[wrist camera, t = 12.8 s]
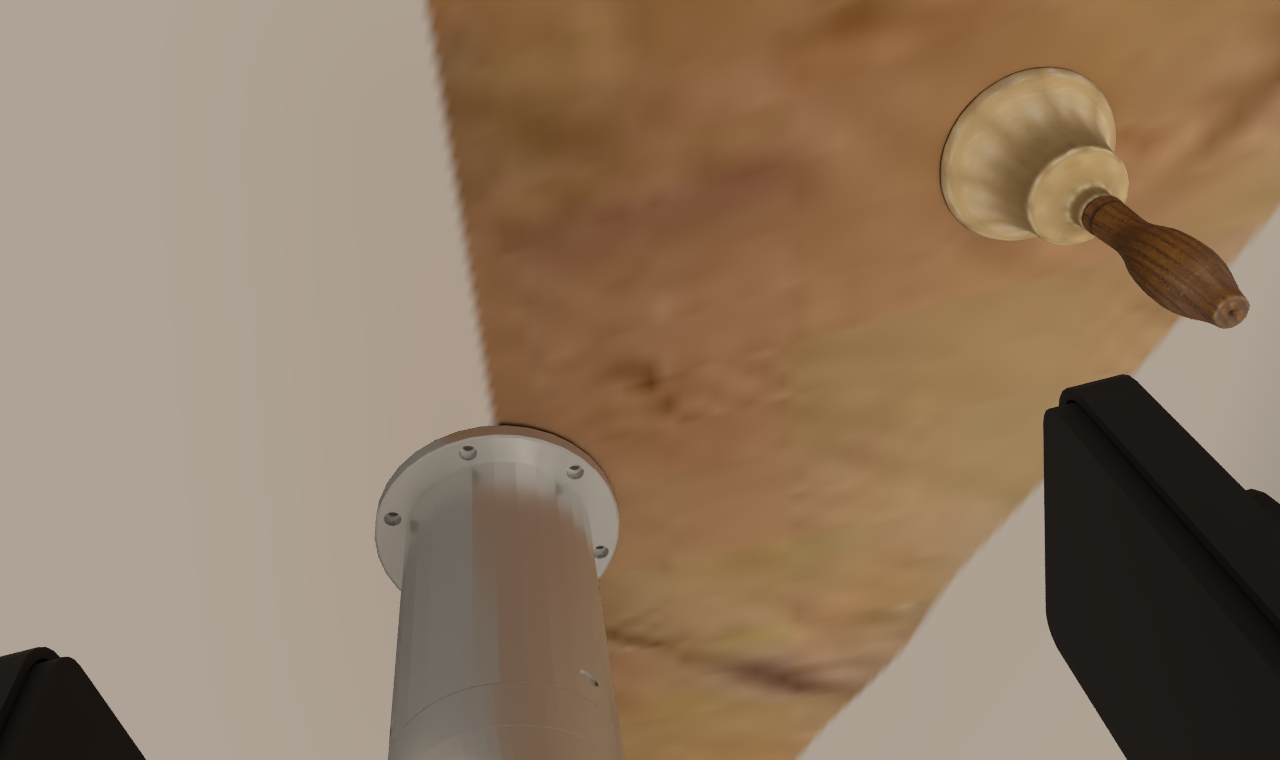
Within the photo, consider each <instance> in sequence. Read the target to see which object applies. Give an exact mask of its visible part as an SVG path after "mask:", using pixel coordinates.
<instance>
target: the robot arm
mask: <svg viewBox="0 0 1280 760" xmlns="http://www.w3.org/2000/svg"><path fill="white" fill-rule="evenodd" d="M1043 431H1044V506H1045V507H1044V508H1045V582H1046V583H1045V584H1046V616H1047V621H1048V625H1049V629H1050V632H1051V635H1052V637H1053V640H1054V642H1055V644H1056V646H1057V648H1058V650H1059V651H1060V653H1061V655H1062V656H1063V658H1064V659H1065V661H1066V663H1067V664H1068V666H1069V668H1070V669H1071V671H1072V672H1073V674H1074V675H1075V677H1076V679H1077V680H1078V682H1079V683H1080V685H1081V687H1082V688H1083V690H1084V691H1085V693H1086V695H1087V696H1088V698H1089V700H1090V701H1091V703H1092V704H1093V705H1094V707H1095V709H1096V711H1097V712H1098V714H1099V715H1100V717H1101V719H1102V720H1103V722H1104V723H1105V725H1106V727H1107V728H1108V730H1109V731H1110V733H1111V735H1112V736H1113V738H1114V739H1115V741H1116V743H1117V744H1118V746H1119V747H1120V749H1121V751H1122V752H1123V754H1124V755H1125V757H1126V758H1127V760H1280V504H1279V503H1278V502H1276V501H1275V500H1274V499H1272V498H1271V497H1270V496H1268V495H1267V494H1266V493H1264V492H1261V491H1257V490H1254V489H1249V490H1245V489H1244V488H1243V487H1242V486H1240V484H1239V483H1238V482H1236V480H1235V479H1234V478H1233V477H1232V476H1231V475H1230V474H1229V473H1228V472H1227V471H1226V470H1225V469H1224V468H1222V466H1221V465H1220V464H1219V463H1218V462H1217V461H1216V460H1215V459H1214V458H1213V457H1212V456H1211V455H1210V454H1209V453H1208V452H1207V451H1206V450H1205V449H1204V448H1203V447H1202V446H1201V445H1200V444H1199V443H1198V442H1197V441H1196V440H1195V439H1194V438H1193V437H1192V436H1191V435H1190V434H1189V433H1188V432H1187V431H1186V430H1185V429H1184V428H1183V427H1182V426H1181V425H1180V424H1179V423H1178V422H1177V421H1176V420H1175V419H1174V418H1173V417H1172V416H1171V415H1170V414H1169V413H1168V412H1167V411H1166V410H1165V409H1164V408H1163V407H1162V406H1161V405H1160V404H1159V403H1158V402H1157V401H1156V400H1155V399H1154V398H1153V397H1152V396H1151V395H1150V394H1149V393H1148V392H1147V391H1146V390H1145V389H1144V388H1143V387H1142V386H1141V385H1140V384H1139V383H1138V382H1137V381H1136V380H1135V379H1133V378H1132V377H1131V376H1129V375H1124V374H1122V375H1118V376H1114V377H1110V378H1106V379H1102V380H1098V381H1094V382H1090V383H1086V384H1082V385H1078V386H1074V387H1070V388H1067V389H1065V390H1064V391H1062V394H1061V396H1060V400H1059V406H1058V407H1054V408H1050V409H1048V410H1046V412H1045V415H1044V422H1043ZM619 526H620V521H619V514H618V507H617V502H616V499H615V495H614V492H613V489H612V486H611V484H610V482H609V481H608V479H607V477H606V476H605V474H604V472H603V470H602V469H601V468H600V467H599V466H598V465H597V464H596V463H595V462H594V461H593V459H592V458H591V457H590V456H589V455H587V454H586V453H585V452H583V451H582V450H580V449H579V448H578V447H576V446H575V445H573V444H572V443H570V442H568V441H566V440H564V439H561V438H559V437H557V436H555V435H553V434H550V433H546V432H543V431H539V430H535V429H532V428H526V427H516V426H507V425H503V426H485V427H477V428H472V429H468V430H463V431H458V432H455V433H453V434H450V435H448V436H445V437H443V438H440V439H438V440H435V441H433V442H432V443H430V444H428V445H427V446H425V447H423V448H422V449H420V450H419V451H417V452H415V453H414V454H413V455H412V456H411V457H410V458H409V459H408V460H406V461H405V462H404V463H403V464H402V465H401V466H400V467H399V468H398V469H397V471H396V472H395V473H394V475H393V476H392V477H391V479H390V480H389V482H388V483H387V485H386V487H385V489H384V492H383V494H382V496H381V498H380V501H379V505H378V511H377V516H376V528H375V542H376V547H377V552H378V556H379V559H380V561H381V563H382V565H383V567H384V569H385V572H386V573H387V575H388V576H389V577H390V579H391V580H392V581H393V583H394V584H395V585H396V586H397V588H398V589H399V590H401V602H400V614H399V627H398V639H397V652H396V664H395V677H394V690H393V703H392V714H391V728H390V740H389V755H388V760H624V754H623V747H622V741H621V735H620V729H619V722H618V715H617V708H616V701H615V694H614V687H613V680H612V673H611V666H610V659H609V653H608V646H607V639H606V632H605V625H604V618H603V611H602V604H601V597H600V590H599V584H598V579H599V578H600V577H601V576H602V575H603V574H604V572H605V570H606V568H607V567H608V565H609V563H610V562H611V560H612V558H613V556H614V552H615V549H616V546H617V543H618V539H619ZM0 760H146V759H145V758H144V756H143V755H142V753H141V752H140V750H139V749H138V748H137V746H136V745H135V743H134V742H133V740H132V739H131V738H130V736H129V735H128V734H127V732H126V730H125V729H124V728H123V726H122V725H121V723H120V722H119V720H118V719H117V718H116V716H115V715H114V713H113V712H112V711H111V709H110V708H109V706H108V705H107V703H106V702H105V701H104V699H103V698H102V696H101V695H100V693H99V692H98V691H97V689H96V688H95V686H94V685H93V683H92V682H91V681H90V679H89V678H88V676H87V675H86V673H85V672H84V670H83V669H82V668H81V666H80V665H79V664H78V663H77V662H76V661H75V660H74V659H72V658H70V657H61V658H60V657H59V656H58V655H57V654H56V653H55V652H54V651H53V650H51V649H49V648H47V647H37V648H33V649H29V650H25V651H22V652H17V653H14V654H9V655H5V656H2V657H0Z"/></svg>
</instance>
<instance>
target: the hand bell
mask: <svg viewBox="0 0 1280 760" xmlns="http://www.w3.org/2000/svg"><path fill="white" fill-rule="evenodd" d="M1115 142H1116V132H1115V122H1114V117H1113V114H1112V110H1111V108H1110V105H1109V103H1108V101H1107V99H1106V98H1105V96H1104V95H1103V93H1102V92H1101V91H1100V90H1099V89H1098V87H1097V86H1096V85H1095V84H1093V83H1092V82H1091V81H1090V80H1089V79H1087V78H1085V77H1084V76H1082V75H1079V74H1077V73H1075V72H1073V71H1071V70H1067V69H1060V68H1053V67H1045V68H1034V69H1028V70H1024V71H1020V72H1017V73H1015V74H1012V75H1010V76H1008V77H1006V78H1003V79H1001V80H999V81H998V82H996V83H994V84H993V85H991V86H990V87H989V88H987V89H986V90H984V91H983V92H982V93H981V94H980V95H978V96H977V97H976V98H975V99H974V100H973V101H972V102H971V103H970V105H969V106H968V107H967V108H966V109H965V110H964V112H963V113H962V114H961V115H960V117H959V118H958V120H957V122H956V123H955V125H954V126H953V128H952V130H951V132H950V134H949V137H948V140H947V142H946V144H945V147H944V150H943V155H942V161H941V186H942V191H943V195H944V198H945V201H946V203H947V205H948V207H949V209H950V211H951V212H952V214H953V215H954V216H955V217H956V219H957V220H958V221H959V222H960V223H962V224H963V225H964V226H965V227H966V228H968V229H969V230H971V231H972V232H974V233H976V234H978V235H981V236H983V237H986V238H990V239H995V240H1004V241H1013V240H1025V239H1029V238H1034V237H1038V236H1039V237H1040V238H1042V239H1043V240H1045V241H1048V242H1050V243H1054V244H1059V245H1073V244H1079V243H1083V242H1085V241H1088V240H1090V239H1092V238H1094V237H1097V238H1099V239H1100V240H1101V241H1103V242H1104V243H1106V244H1107V245H1109V246H1110V247H1112V248H1113V249H1115V250H1116V251H1117V252H1118V253H1119V254H1120V256H1121V257H1122V259H1123V260H1124V262H1125V265H1126V268H1127V270H1128V272H1129V274H1130V275H1131V276H1132V278H1133V279H1134V281H1135V282H1136V283H1137V284H1138V285H1139V286H1140V288H1141V289H1142V290H1143V291H1144V292H1145V293H1146V294H1147V295H1148V296H1150V297H1151V298H1152V299H1153V300H1155V301H1156V302H1157V303H1158V304H1160V305H1161V306H1162V307H1164V308H1166V309H1167V310H1169V311H1171V312H1173V313H1175V314H1178V315H1181V316H1184V317H1187V318H1191V319H1196V320H1200V321H1204V322H1208V323H1211V324H1213V325H1215V326H1217V327H1219V328H1223V329H1224V328H1232V327H1234V326H1236V325H1238V324H1239V323H1241V322H1242V321H1243V320H1244V319H1245V317H1246V316H1247V313H1248V311H1249V306H1250V305H1249V302H1248V300H1247V299H1246V297H1245V296H1244V295H1243V294H1242V293H1241V291H1240V290H1239V288H1238V286H1237V284H1236V282H1235V280H1234V278H1233V276H1232V273H1231V272H1230V270H1229V268H1228V267H1227V265H1226V264H1225V263H1224V261H1223V260H1222V259H1221V258H1220V257H1219V256H1218V255H1217V254H1216V253H1215V252H1214V251H1213V250H1212V249H1210V248H1209V247H1208V246H1206V245H1205V244H1203V243H1202V242H1200V241H1198V240H1197V239H1195V238H1193V237H1192V236H1190V235H1188V234H1186V233H1183V232H1181V231H1179V230H1176V229H1173V228H1169V227H1164V226H1158V225H1154V224H1151V223H1148V222H1146V221H1145V220H1143V219H1142V218H1141V217H1139V216H1138V215H1137V214H1136V213H1135V212H1133V211H1132V210H1131V209H1130V208H1129V207H1128V206H1126V205H1125V201H1126V198H1127V194H1128V185H1129V183H1128V175H1127V171H1126V168H1125V166H1124V164H1123V162H1122V161H1121V159H1120V158H1119V157H1118V156H1117V155H1116V154H1115V153H1114V152H1115Z"/></svg>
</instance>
